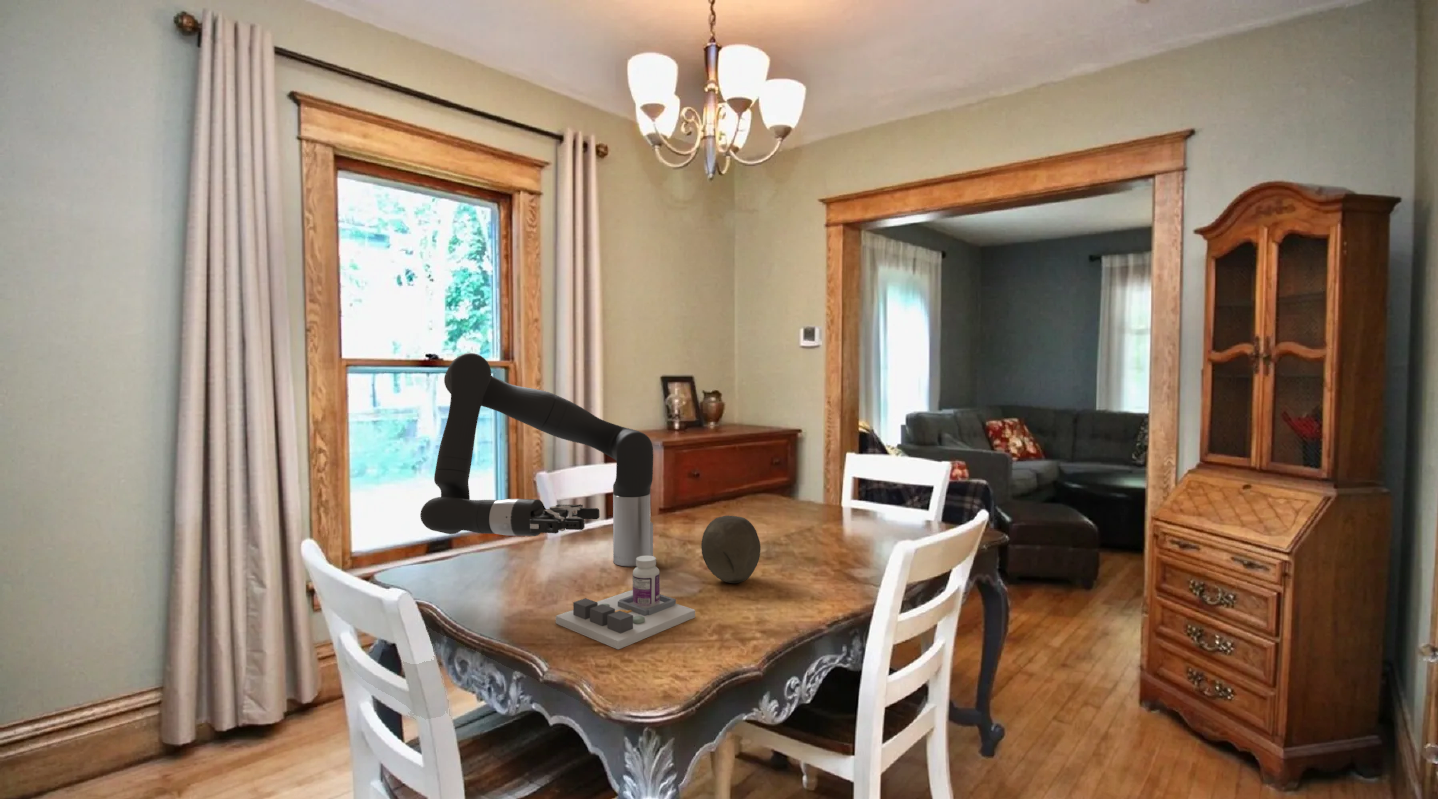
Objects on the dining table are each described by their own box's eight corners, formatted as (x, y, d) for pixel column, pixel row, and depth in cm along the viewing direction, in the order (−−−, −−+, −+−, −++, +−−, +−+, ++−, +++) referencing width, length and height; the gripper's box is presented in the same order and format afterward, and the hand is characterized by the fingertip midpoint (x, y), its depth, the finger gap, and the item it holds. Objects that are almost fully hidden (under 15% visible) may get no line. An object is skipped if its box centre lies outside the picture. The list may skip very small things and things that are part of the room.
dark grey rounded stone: (773, 580, 157) (774, 516, 156) (732, 595, 147) (733, 527, 146) (728, 567, 166) (728, 507, 166) (687, 580, 156) (687, 516, 155)
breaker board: (633, 596, 146) (633, 578, 145) (695, 617, 134) (695, 597, 134) (555, 623, 130) (555, 603, 130) (618, 649, 119) (618, 627, 118)
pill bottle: (648, 598, 140) (648, 552, 139) (665, 605, 136) (665, 558, 136) (627, 605, 136) (627, 557, 136) (643, 612, 132) (643, 563, 132)
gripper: (500, 507, 134) (578, 508, 131) (531, 492, 148) (603, 493, 145) (501, 544, 134) (579, 546, 132) (533, 526, 148) (604, 527, 146)
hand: (591, 518), depth 138 cm, fingers open, 8 cm apart
